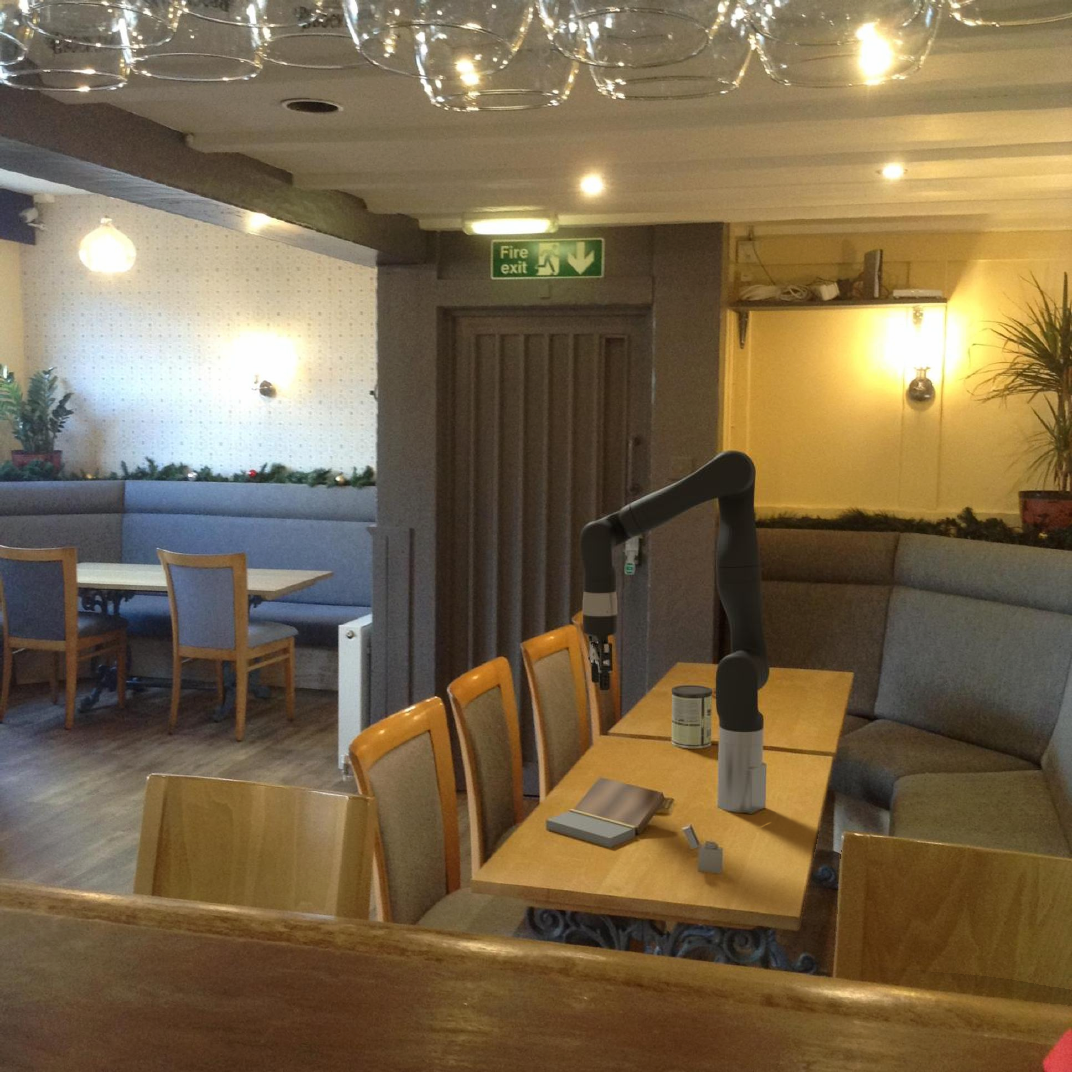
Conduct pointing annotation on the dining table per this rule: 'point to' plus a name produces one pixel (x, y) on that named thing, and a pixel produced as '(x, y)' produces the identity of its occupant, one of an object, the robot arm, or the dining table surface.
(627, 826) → the board
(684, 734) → the coffee can
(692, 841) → the lighter
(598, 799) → the walnut plank
